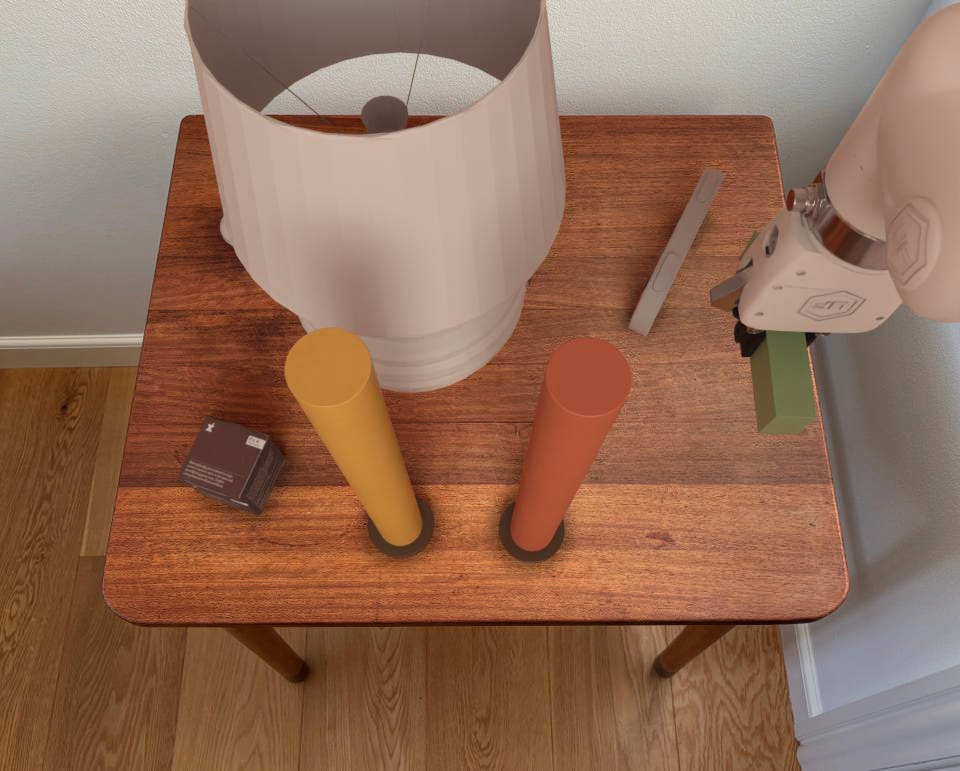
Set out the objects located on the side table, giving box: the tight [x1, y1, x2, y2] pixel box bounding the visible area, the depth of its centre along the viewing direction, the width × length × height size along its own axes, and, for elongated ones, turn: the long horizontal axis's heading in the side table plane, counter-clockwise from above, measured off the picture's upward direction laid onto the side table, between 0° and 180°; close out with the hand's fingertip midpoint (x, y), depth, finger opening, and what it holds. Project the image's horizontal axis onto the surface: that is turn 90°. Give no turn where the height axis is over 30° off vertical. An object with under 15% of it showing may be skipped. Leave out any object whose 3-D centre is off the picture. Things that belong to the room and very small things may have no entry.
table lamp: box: [183, 0, 567, 394], centre depth 60 cm, size 25×25×40 cm
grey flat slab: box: [627, 166, 726, 337], centre depth 77 cm, size 20×2×8 cm, turn 152°
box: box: [176, 414, 287, 517], centre depth 69 cm, size 6×6×7 cm
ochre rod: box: [284, 327, 435, 559], centre depth 53 cm, size 6×6×38 cm
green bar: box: [738, 231, 817, 436], centre depth 61 cm, size 3×16×4 cm, turn 178°
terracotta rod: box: [498, 336, 633, 565], centre depth 53 cm, size 6×6×38 cm
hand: (767, 341), depth 62 cm, fingers closed on green bar, 3 cm apart
